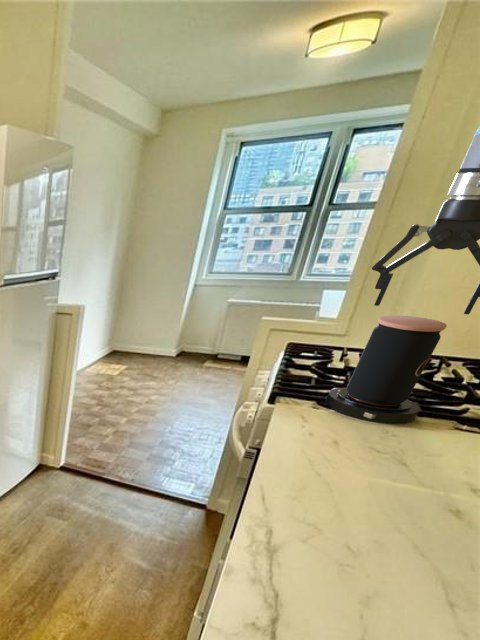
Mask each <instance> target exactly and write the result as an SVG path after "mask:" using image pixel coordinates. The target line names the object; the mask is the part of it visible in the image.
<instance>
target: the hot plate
mask: <svg viewBox="0 0 480 640" xmlns="http://www.w3.org/2000/svg"><path fill="white" fill-rule="evenodd" d="M324 404H325V405H326V407H327V408H329V409H330V410H331V411H332V410H333V412H334V411H335V412H336V413H339V414H342V415H344V416H347V417H349V418H354V419H357V420H362V421H366V422H371V423H378V424H386V425H404V424H405V425H406V424H411V423H413V422H414V421H415V420H416V418H417V416H418V414H419V413H420V411H421V407H420V405H418V404H417V403H416V402H414V401H412V400H410V399H409V398H408V399H407V400H406V401H404V402H402V403H400V404H398V405H381V404H374V403H369V402H365V401H361V400H358V399H355V398H353V397H351V396H350V395H349V394H348V391H347V387H337V388H333V389H331V390H329V391H328V393H327V396H326V398H325V401H324Z"/></svg>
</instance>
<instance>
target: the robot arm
mask: <svg viewBox="0 0 480 640" xmlns="http://www.w3.org/2000/svg"><path fill="white" fill-rule="evenodd" d="M447 196H448V197H449V198H448V199H446V200H444V201H443V203H442V205H441V208H440V210H439V212H438V214H437V216H436V219H435V221H434V222H433V223H432V225H429V226H428V225H421V224H419V223H414V224H413V225H411V227H410V228H409V230H408V231H407V233H406V235H405V236H404V237H403V238H402V239H401V240H400V241H398V243H396V244H395V245H394V246H393V247H392V248H391V249H390V250H389V251H388V252H386V253H385V254H384V255H383V256H382V257H381V258H380V259H379V260H378V261H377V262H375V264H373V266H371V270H372V271H375V272H378V273H379V276H378V279H377V281H376V284H375V287H374V289H375V290H380V291H379V293H378V295H377V298H376V300H375V302H374V305H373V306H375V307H376V306H377V307H379V306H380V305H381V303H382V300H383V299H384V296H385V294H386V291H387V290H388V287H389V285H390V283H391V280H392V278H393V276H394V273H391V272H392V271H394V270H396V269H397V268H399V267H402V266H403V265H404V264H406V263H407V262H409V261H411V260H413V259H414V258H416V257H418V255H420V254H422V253H424V252H426V251H427V250H429V249H431V248H434V249H436V250H448V249H450V250H453V251H460V250H464V249H468V251H469V252H470V254H471V255H472V256H473V258H474V259H475V261H476V263H477V264H478V266H479V267H480V244H479V242H478V241H480V125H479V126H478V128H477V130H476V132H475V133H474V135H473V138H472V140H471V142H470V145H469V147H468V149H467V151H466V154H465V156H464V158H463V160H462V163H461V165H460V167H459V169H458V172H457V173H456V175H455V177H454V180H453V182H452V184H451V186H450V188H449V190H448V193H447ZM423 233H426V234H427V236H428V238H429V240H427V241H426V242H424V243H422V244H421V245H420V246H418V247H416V248H415V249H413V250H412V251H410V252H408V253H407V254H405V255H403V256H402V257H400V258H399V259H397V260H395V261H394V262H392V263H390V264H388V265H385V264H386V263H387V262H388V261H389V260H390V259H391V258H393V257H394V256H395V255H396V254H397V253H398V252H400V251H401V249H403V248H404V247H405V246H406V245H407V244H408V243H409V242H410V241H411V240H412V239H413V238H414V237H417V238H418V237H420V236H421V235H422V234H423ZM479 298H480V281H479V282H478V284H477V285H476V287H475V290H474V292H473V294H472V296H471V297H470V299H469V301H468V303H467V305H466V307H465V308H464V310H463V315H470V314H471V312H472V311H473V308H474V306H475V305H476V302H477V301H478V299H479Z"/></svg>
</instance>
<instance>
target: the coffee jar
mask: <svg viewBox="0 0 480 640" xmlns="http://www.w3.org/2000/svg"><path fill="white" fill-rule="evenodd" d="M377 324H378V325H377V326H376V327H374V328H373V330H372V331H371V334H370V336H369V339H368V340H367V342H366V344H365V347H364V349H363V351H362V353H361V355H360V357H359V360H358V361H357V364H356V366H355V368H354V370H353V373H352V375H351V377H350V379H349V382H348V383H347V386H346V388H347V391H348V394H349V395H350V396H351V397H353V398H355V399H358V400H361V401H365V402H369V403H374V404H381V405H398V404H400V403H402V402H404V401H406V400H407V399H408V400H409V398H410V396H411V394H412V392H413V390H414V389H415V387H416V385H417V384H418V381H419V379H420V377H421V375H422V373H423V372H424V370H425V368H426V366H427V364H428V362H429V360H430V359H431V357H432V356H433V353H434V351H435V349H436V347H437V345H438V343H439V342H440V340H441V337H442V336H441V334H440V333H441V332H443V331H444V330H446V328H447V327H448V325H447V323H445V322H443V321H439V320H436V319H432V318H426V317H419V316H409V315H382V316H380V317H378V319H377Z"/></svg>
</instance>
